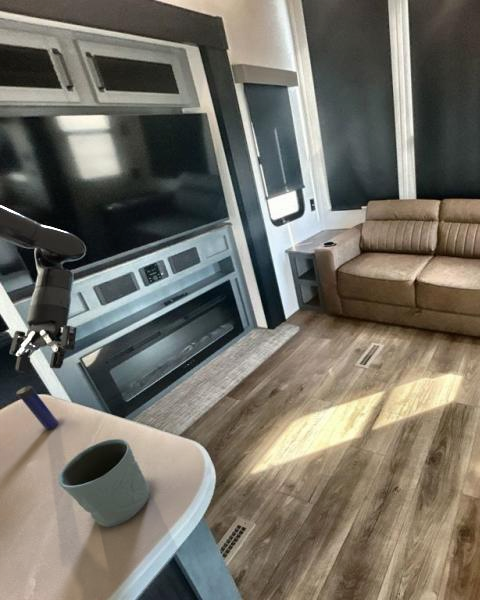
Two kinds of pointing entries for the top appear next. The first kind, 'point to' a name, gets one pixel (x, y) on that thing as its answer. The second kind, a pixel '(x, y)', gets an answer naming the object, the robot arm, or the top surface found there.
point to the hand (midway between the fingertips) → (38, 370)
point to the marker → (37, 407)
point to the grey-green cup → (106, 482)
